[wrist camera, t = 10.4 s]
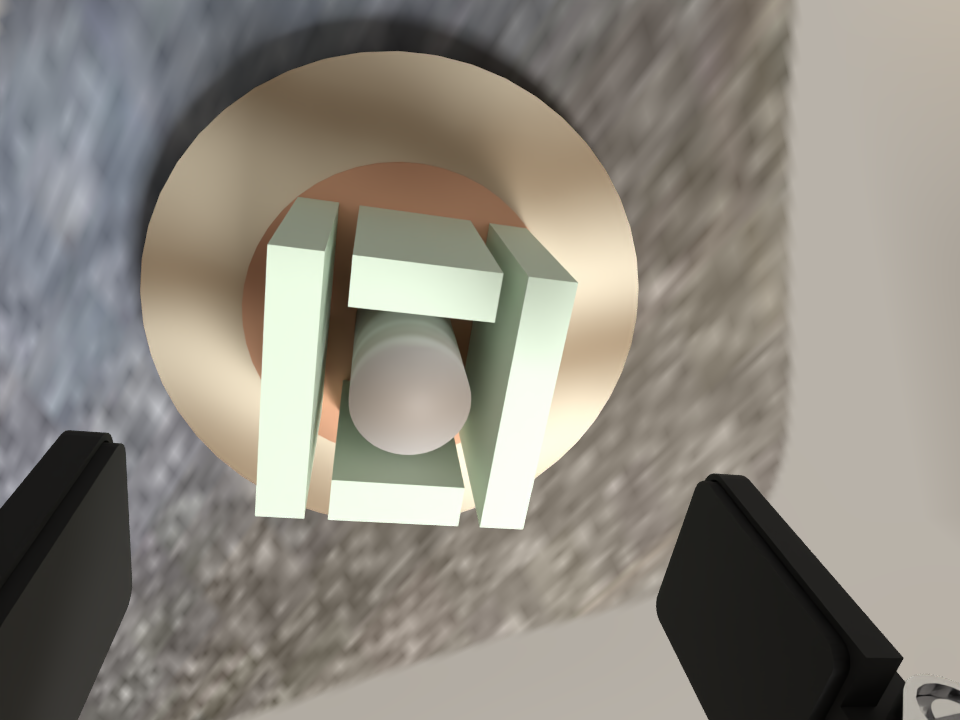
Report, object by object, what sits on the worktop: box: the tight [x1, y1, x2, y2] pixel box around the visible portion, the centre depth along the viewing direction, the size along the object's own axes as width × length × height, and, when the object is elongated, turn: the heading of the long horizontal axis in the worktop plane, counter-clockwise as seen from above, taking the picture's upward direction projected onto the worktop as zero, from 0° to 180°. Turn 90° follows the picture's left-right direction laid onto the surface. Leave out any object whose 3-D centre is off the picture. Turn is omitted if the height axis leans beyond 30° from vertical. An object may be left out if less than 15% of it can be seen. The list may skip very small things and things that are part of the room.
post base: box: [140, 51, 638, 514], centre depth 20 cm, size 16×16×8 cm
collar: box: [255, 197, 578, 529], centre depth 19 cm, size 7×7×6 cm
